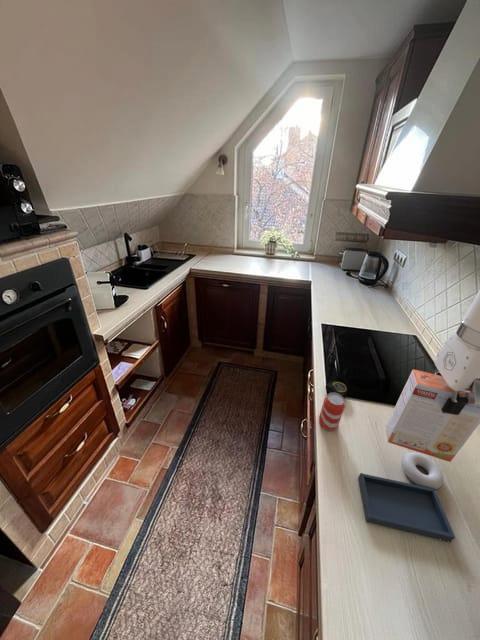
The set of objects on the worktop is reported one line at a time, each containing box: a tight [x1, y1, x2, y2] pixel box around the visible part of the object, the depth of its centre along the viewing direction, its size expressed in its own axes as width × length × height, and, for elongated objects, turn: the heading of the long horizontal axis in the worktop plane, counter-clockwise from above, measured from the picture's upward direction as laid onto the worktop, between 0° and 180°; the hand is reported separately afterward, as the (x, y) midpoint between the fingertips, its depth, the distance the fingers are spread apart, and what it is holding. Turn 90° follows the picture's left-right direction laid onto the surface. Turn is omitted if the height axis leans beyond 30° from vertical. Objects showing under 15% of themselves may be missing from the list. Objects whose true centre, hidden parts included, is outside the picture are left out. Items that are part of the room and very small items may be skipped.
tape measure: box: [325, 380, 348, 399], centre depth 97 cm, size 7×7×4 cm
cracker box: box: [385, 368, 480, 463], centre depth 61 cm, size 14×6×21 cm, turn 68°
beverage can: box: [318, 392, 346, 431], centre depth 83 cm, size 6×6×12 cm
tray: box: [357, 472, 456, 543], centre depth 64 cm, size 19×11×2 cm, turn 78°
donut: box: [401, 451, 444, 490], centre depth 72 cm, size 10×4×10 cm
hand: (442, 399), depth 58 cm, fingers closed on cracker box, 6 cm apart
